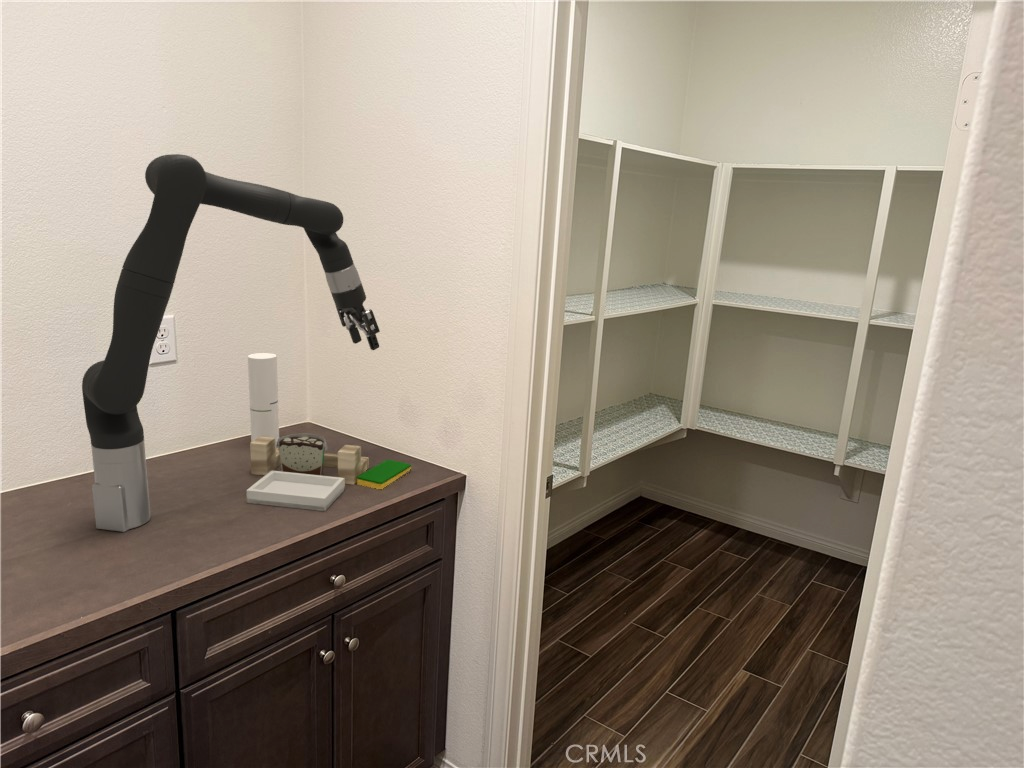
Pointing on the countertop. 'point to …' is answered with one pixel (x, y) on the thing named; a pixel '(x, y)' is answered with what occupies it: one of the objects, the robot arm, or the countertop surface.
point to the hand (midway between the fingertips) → (366, 345)
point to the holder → (346, 461)
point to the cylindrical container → (263, 395)
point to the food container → (302, 453)
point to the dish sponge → (383, 474)
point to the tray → (296, 490)
